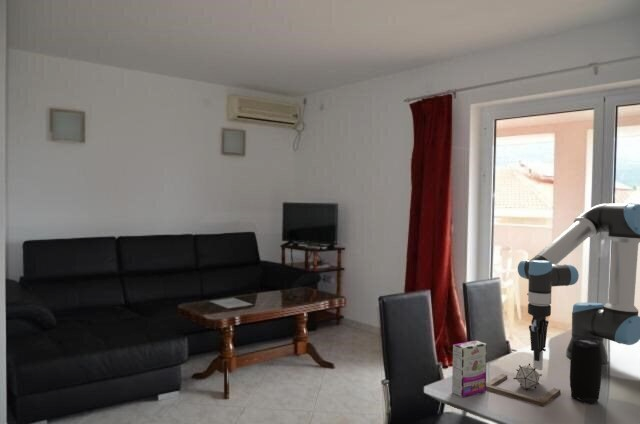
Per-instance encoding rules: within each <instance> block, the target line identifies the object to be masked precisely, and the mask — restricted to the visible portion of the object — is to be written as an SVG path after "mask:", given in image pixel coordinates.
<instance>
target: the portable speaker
mask: <svg viewBox="0 0 640 424" xmlns="http://www.w3.org/2000/svg"><path fill="white" fill-rule="evenodd" d="M600 346H601V343H600V341H599V340H591V339H587V338H585V337H575V338H574V341H573V345H572V351H571V358H570V364H569V387H570V392H571V393H570V394H571V395H570V397H571V399H578V400H580V401H581V402H582V404H583V403H584V404H586V405H594V404H595V405H596V403H597V402H598V400H599V399H600V394H601V393H600V392H601V385H602V372H603V371H602V368H603V367H602V366H603V364H602V356H601V348H600Z"/></svg>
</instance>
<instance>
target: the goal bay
mask: <svg viewBox="0 0 640 424" xmlns="http://www.w3.org/2000/svg"><path fill="white" fill-rule="evenodd" d="M507 379H508V375H507V374H504V373H501V374H499V375H497V376H496V377H494V378H492V379H490V380H488V381H486V391H490V392H492V393H497V394H499V395H503V396H507V397H509V398H513V399H516V400H519V401H522V402H526V403H529V404H532V405H535V406H539V407H545V406H546V405H547V404H549V403H550V402H551V401H553V400H554V399H555V398H556V397H558V396H559V395H560V394H561V389H559V388H556V387H554V388H552V389H551V390H549V391H548V392H547V393H545V394H544V395H543V396H541V397H540V398H536V397H532V396H529V395H525V394H522V393H519V392H515V391H512V390H508V389H505V388H502V387H498V386H497V385H499V384H500V383H502V382H504V381H505V380H507Z"/></svg>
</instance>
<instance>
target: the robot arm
mask: <svg viewBox="0 0 640 424" xmlns="http://www.w3.org/2000/svg"><path fill="white" fill-rule="evenodd" d="M599 233H608V239H610V241H612V244H611V258H610V273H609V285H608V301H607V302H606V303H605V304H604V303H600V302H576V303H574V304H573V306H572V312H571V337H570V340H569V343H568V345H567V348H566V352H565V355H566V357H567V358H569V359H571V351H572V345H573V341H574V338H575V337H585V338H587V339H591V340H599V341H600V343H601V346H600V348H601V356H602V365H603V364H607V363H608V359H609V358H608V356H609V355H608V352H607V350H606V346H605V343H604V339H605V340H608V341H612V342H614V343H617V344H619V345H620V344H622V345H626V346H632V345H634V344H637V343H638V342H639V341H640V316H639V310H638V308H637V307H636V306H635V295H636V283H637V269H638V266H637V265H638V256H639V255H638V254H639V253H638V251H639V245H640V204H638V203H632V202H631V203H624V202H623V203H620V202H619V203H613V202H612V203H610V202H606V203H605V202H604V203H600V204H597V205H594V206H592V207H591V208H588V209H587V210H586V211H584V212H582V213H581V214H579V216H577V217H576V218H574V219H573V223H572V224H571V226H569V227H568V228H567V229H566V230H564V231H563V232H562V233H561V234H559V235H558V236H557V237H556V238H555V239H554V240H552V242H550V243H549V244H547V246H545V248H543V249H542V250H541V251H539V252H538V253H537V254H536V255H535V256H533V257H532V258H530V259H522V260H521V261H520V262H518V265H517V273H518V275H519V276H520V278H523V279H526V280H528V291H527V294H526V295H527V296H528V304H527V313H528V315H531V316H532V319H531V324H530V325H528V329H529V336H530V337H529V338H530V339H529V340H530V350H531V351H533V357H532V358H533V359H532V360H533V363H532V364H533V365H532V368H533V369H534V368H536V370H538V371H542V370H543V368H544V367H543V365H544V364H543V362H544V360H543V359H544V352H546V351H547V350H546V343H547V335H548V325H549V320H547V317H550V316H551V315H552V314H551V313H552V306H551V304H552V287H564V286H565V287H568V286H572V285H575V284H577V282H578V281H579V276H580V275H579V271H578V268H577V267H575V266H574V265H571V264H559V263H560V262H562V261H563V260H564V259H565V258H566V257H567V256H568V255H569V254H571V253H572V252H573V251H574V250H576V248H578V246H580V245H581V244H582V243H583V242H584V241H586V240H587V239H588V238H593V237H594V236H596V235H597V234H599Z"/></svg>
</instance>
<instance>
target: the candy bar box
mask: <svg viewBox="0 0 640 424" xmlns="http://www.w3.org/2000/svg"><path fill="white" fill-rule="evenodd" d="M487 346H488V345H487V343H486V342H483V341H479V340H476V339H475V340H473V341H472V340H471V341H466V342H460V343H455V344H452V374H451V375H452V377H451V378H452V381H451V383H452V384H451V386H452V387H451V391H452V392H451V393H452V394H454V395H456V396H458V397H460V398H462V399H463V398H468V397H472V396H476V395H479V394H483V393H486V392H487V390H486V383H487V353H488V352H487V351H488V350H487V348H488V347H487Z"/></svg>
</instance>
